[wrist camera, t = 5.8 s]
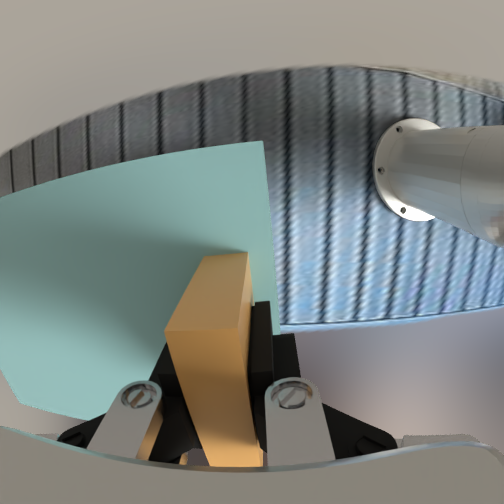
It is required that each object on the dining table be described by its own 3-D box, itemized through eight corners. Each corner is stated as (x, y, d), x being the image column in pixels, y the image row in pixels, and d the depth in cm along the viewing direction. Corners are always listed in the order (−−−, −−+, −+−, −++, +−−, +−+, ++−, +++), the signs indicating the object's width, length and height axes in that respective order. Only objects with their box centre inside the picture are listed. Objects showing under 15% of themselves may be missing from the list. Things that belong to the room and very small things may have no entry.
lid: (262, 143, 12) (263, 126, 5) (284, 396, 16) (291, 511, 9) (-25, 208, 13) (-110, 243, 6) (36, 382, 18) (-13, 446, 10)
